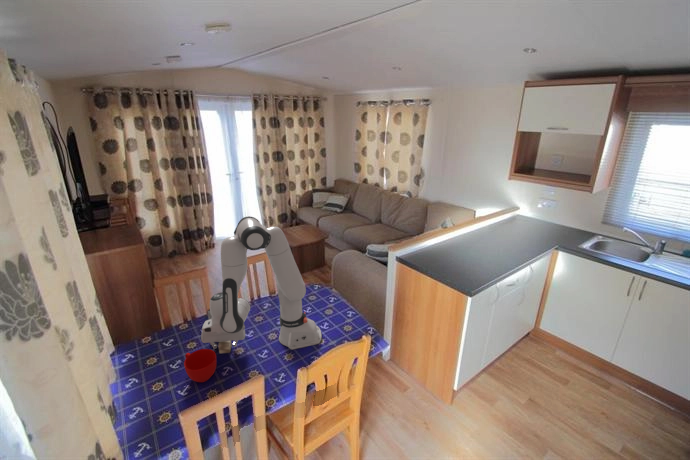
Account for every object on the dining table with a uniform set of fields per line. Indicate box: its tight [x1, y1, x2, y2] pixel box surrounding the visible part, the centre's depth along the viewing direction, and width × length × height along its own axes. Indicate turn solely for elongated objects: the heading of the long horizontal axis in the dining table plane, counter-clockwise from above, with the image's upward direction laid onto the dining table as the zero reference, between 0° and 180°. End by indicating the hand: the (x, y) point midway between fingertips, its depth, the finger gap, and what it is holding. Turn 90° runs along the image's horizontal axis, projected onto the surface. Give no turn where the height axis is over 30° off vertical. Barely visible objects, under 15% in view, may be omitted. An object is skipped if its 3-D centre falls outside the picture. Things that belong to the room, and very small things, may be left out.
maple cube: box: [217, 341, 233, 354], centre depth 159 cm, size 5×5×5 cm
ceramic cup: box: [183, 348, 218, 383], centre depth 142 cm, size 13×17×10 cm
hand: (225, 346), depth 159 cm, fingers open, 8 cm apart
